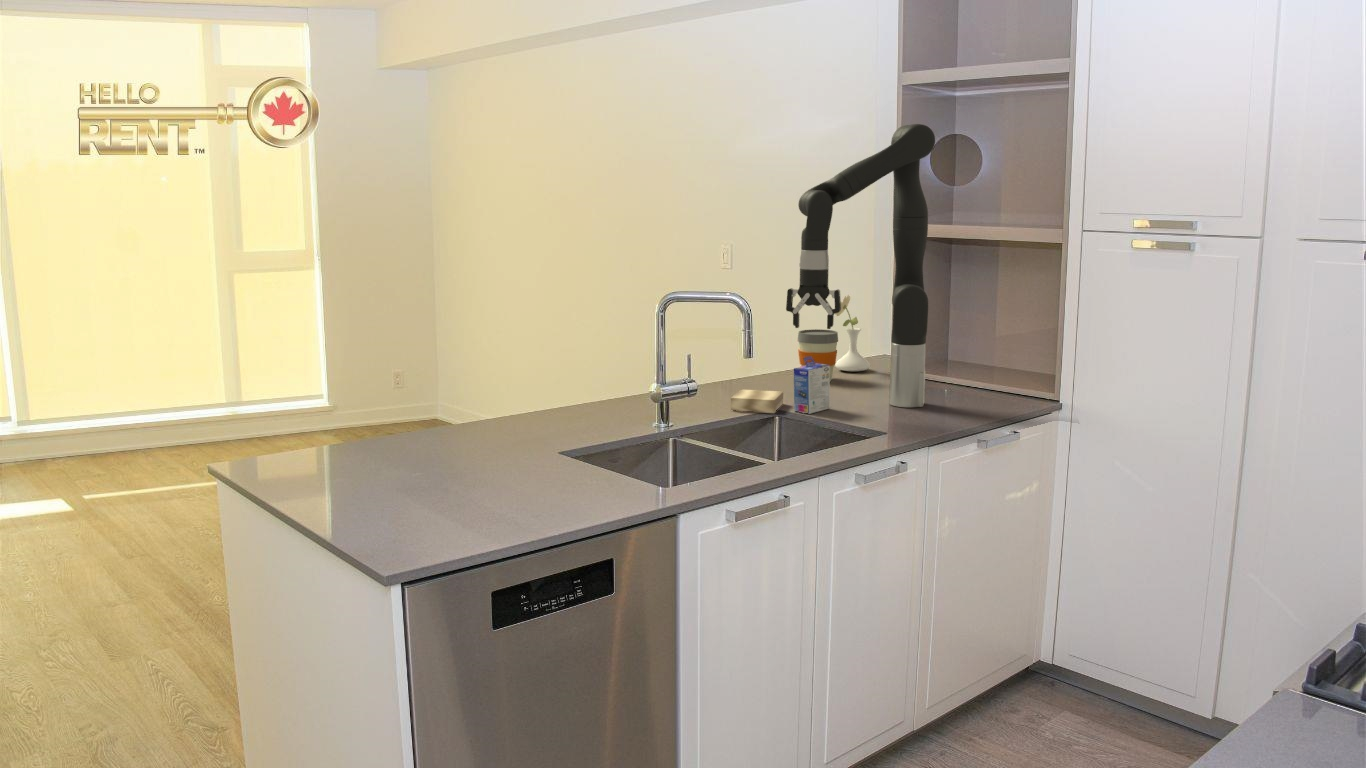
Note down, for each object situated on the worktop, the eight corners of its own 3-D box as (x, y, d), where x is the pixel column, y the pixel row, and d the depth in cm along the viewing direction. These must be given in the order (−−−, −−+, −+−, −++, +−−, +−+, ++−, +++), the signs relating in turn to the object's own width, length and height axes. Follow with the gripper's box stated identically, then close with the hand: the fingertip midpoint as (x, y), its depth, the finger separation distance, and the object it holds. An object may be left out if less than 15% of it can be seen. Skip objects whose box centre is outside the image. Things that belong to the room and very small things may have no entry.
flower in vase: (851, 366, 351) (853, 291, 347) (877, 371, 342) (879, 294, 338) (824, 370, 343) (825, 294, 339) (850, 375, 334) (851, 297, 330)
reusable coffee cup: (819, 385, 319) (820, 336, 317) (788, 379, 329) (789, 332, 326) (845, 379, 328) (846, 332, 325) (814, 374, 337) (815, 328, 334)
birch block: (783, 405, 292) (783, 391, 292) (774, 414, 281) (774, 400, 280) (741, 403, 296) (741, 389, 295) (730, 412, 285) (730, 397, 284)
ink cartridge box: (813, 406, 290) (814, 354, 287) (830, 408, 286) (831, 356, 283) (792, 411, 282) (793, 358, 280) (809, 414, 279) (810, 361, 276)
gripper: (843, 266, 278) (841, 327, 282) (790, 265, 282) (789, 325, 286) (839, 268, 271) (837, 331, 274) (784, 267, 275) (783, 329, 279)
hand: (812, 328), depth 280 cm, fingers open, 8 cm apart
